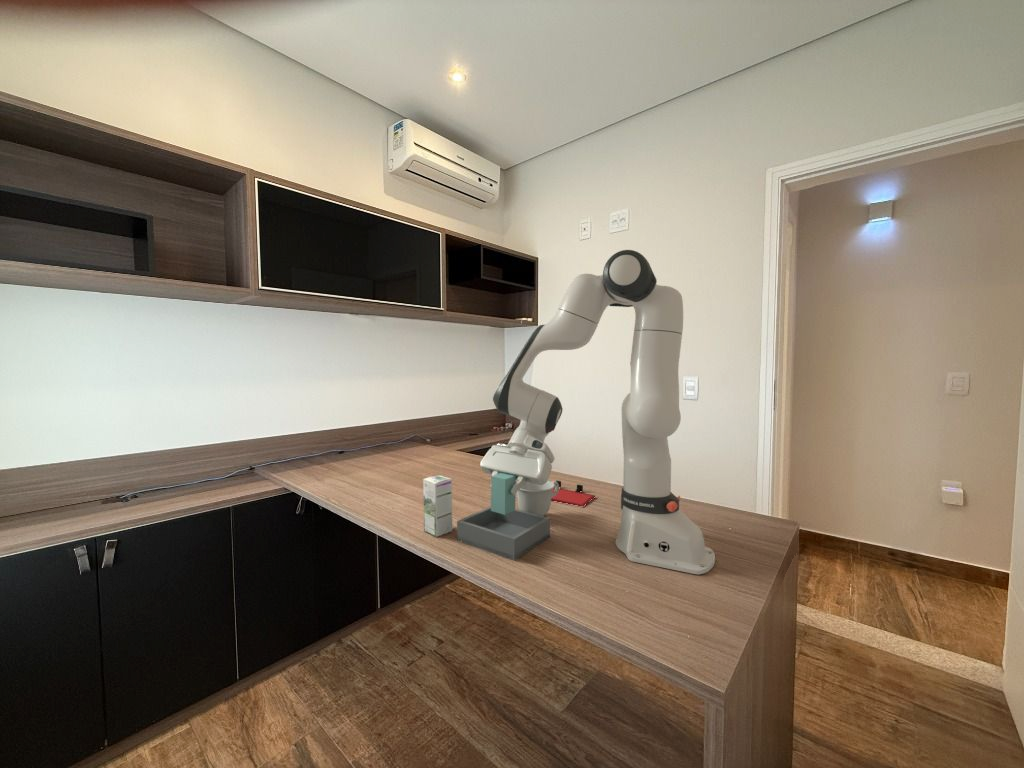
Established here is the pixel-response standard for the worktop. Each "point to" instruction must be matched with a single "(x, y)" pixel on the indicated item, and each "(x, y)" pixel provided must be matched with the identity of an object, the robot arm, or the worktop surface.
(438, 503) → the syrup box
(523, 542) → the tote
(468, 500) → the worktop surface
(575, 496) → the red flat slab
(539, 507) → the teacup
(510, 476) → the teal block
